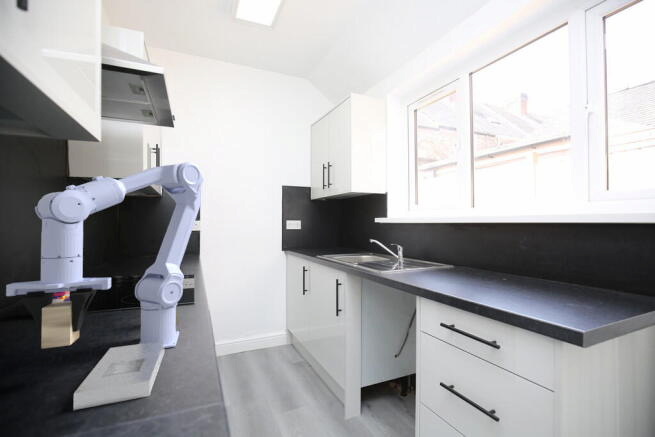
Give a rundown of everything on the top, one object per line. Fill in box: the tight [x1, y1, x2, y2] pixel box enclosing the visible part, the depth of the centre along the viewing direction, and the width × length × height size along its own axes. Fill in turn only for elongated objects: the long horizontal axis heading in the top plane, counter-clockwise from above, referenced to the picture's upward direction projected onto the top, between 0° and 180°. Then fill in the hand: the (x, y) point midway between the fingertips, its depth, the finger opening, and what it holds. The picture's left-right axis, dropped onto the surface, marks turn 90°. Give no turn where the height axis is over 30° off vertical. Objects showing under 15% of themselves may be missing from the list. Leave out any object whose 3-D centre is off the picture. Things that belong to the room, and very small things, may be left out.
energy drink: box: [52, 287, 71, 303], centre depth 93 cm, size 5×5×12 cm
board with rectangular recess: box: [73, 341, 166, 411], centre depth 55 cm, size 18×10×2 cm, turn 22°
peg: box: [40, 300, 80, 349], centre depth 54 cm, size 4×4×7 cm
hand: (61, 331), depth 54 cm, fingers closed on peg, 4 cm apart
